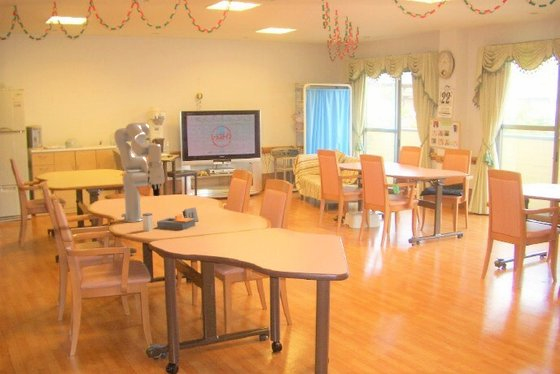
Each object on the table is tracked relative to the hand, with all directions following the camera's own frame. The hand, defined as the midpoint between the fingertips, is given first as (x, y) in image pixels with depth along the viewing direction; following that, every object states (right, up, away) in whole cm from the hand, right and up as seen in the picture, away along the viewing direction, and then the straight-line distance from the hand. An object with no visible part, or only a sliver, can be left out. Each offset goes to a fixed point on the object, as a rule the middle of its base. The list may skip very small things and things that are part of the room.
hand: (156, 195), depth 362 cm
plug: (-5, -21, -1) cm, 21 cm away
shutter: (+15, -15, +6) cm, 23 cm away
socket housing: (+10, -19, +9) cm, 24 cm away
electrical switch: (+17, -18, +23) cm, 34 cm away
